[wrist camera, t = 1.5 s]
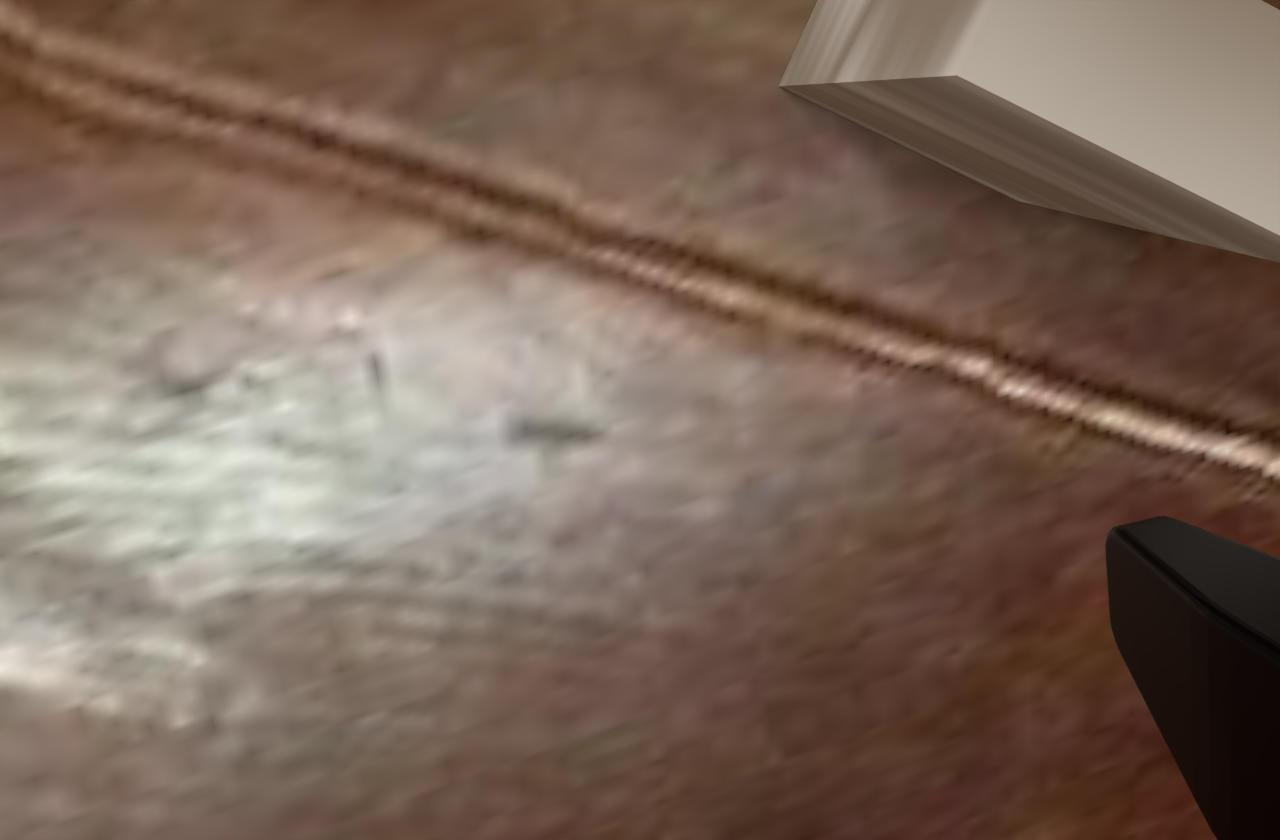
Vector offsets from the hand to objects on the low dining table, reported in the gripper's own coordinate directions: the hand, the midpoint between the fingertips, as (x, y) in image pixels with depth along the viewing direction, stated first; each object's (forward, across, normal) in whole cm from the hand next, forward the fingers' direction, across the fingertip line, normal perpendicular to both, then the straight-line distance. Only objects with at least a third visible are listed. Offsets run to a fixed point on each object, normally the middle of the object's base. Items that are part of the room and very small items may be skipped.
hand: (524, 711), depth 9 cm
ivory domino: (+14, -7, 0) cm, 16 cm away
